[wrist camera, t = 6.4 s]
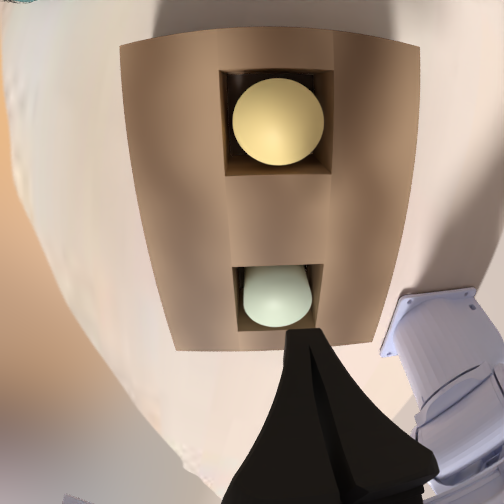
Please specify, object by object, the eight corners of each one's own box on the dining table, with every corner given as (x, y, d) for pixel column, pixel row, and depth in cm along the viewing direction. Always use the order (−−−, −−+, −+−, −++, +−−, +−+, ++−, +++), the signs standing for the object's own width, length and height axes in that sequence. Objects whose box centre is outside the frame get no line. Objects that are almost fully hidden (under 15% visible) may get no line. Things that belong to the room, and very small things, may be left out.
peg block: (383, 53, 14) (419, 47, 10) (356, 302, 23) (372, 341, 19) (149, 54, 14) (119, 45, 10) (185, 308, 24) (176, 350, 20)
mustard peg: (306, 82, 14) (324, 79, 11) (306, 147, 17) (322, 165, 13) (235, 82, 15) (230, 79, 11) (238, 148, 17) (235, 166, 13)
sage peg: (303, 237, 20) (314, 273, 16) (300, 285, 22) (308, 325, 18) (243, 238, 20) (241, 276, 16) (245, 287, 22) (245, 328, 18)
